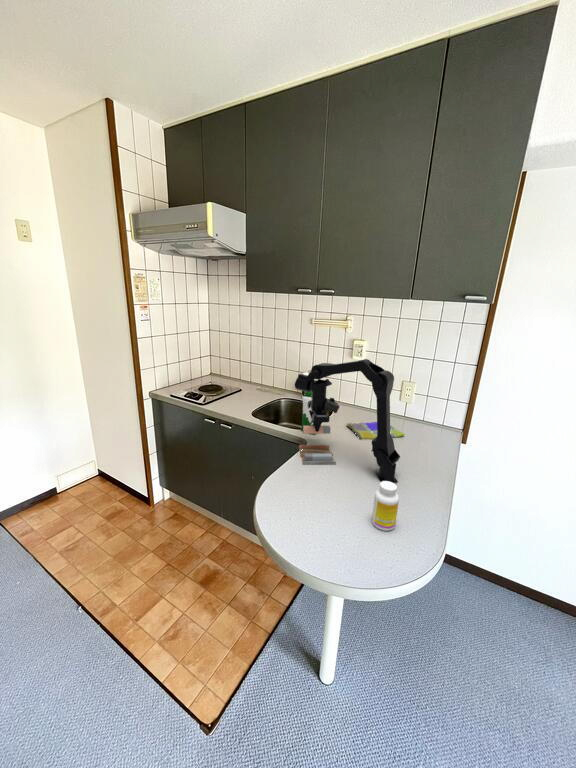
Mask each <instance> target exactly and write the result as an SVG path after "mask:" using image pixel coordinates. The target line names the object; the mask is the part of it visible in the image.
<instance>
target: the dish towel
mask: <svg viewBox="0 0 576 768" xmlns="http://www.w3.org/2000/svg"><path fill="white" fill-rule="evenodd" d="M345 425H347V427H348V428H349V429H350V430H351V429H352V430H353V431H354V432H355V433H356V435H357V436H358V437H359V439H358V440H361V439H371V440H373V439H374V438H376V437H377V421H373V422H358V423H356V422H354V423H351V422H348V423H345ZM369 429H370V430H369ZM391 429H392V430H391ZM352 430H351V431H352ZM353 431H352V432H353ZM371 431H373V433H371ZM390 431H391V437H392V439H395V438H396V437H397V438H400V437H402V438H403V437H404V436H405V433H404V432H401V431H399V430H397V429H395V427H394V426H392V425H391V424H390ZM354 432H353V433H354ZM356 435H355V436H356ZM357 436H356V437H357Z"/></svg>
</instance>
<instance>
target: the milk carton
mask: <svg viewBox="0 0 576 768" xmlns="http://www.w3.org/2000/svg"><path fill="white" fill-rule="evenodd" d="M304 393H305V394H304V395H303V396H302V397H301V398H302V418H301V419H302V420H301V431H303V426H314V425H313V422H312V419H311V416H310V413H309V411H310V410H311V407H310V408H308V402H309V401H312V399H311V395H312V390H311V391H310V392H305V391H304Z"/></svg>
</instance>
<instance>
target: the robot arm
mask: <svg viewBox="0 0 576 768" xmlns="http://www.w3.org/2000/svg"><path fill="white" fill-rule="evenodd" d="M355 372H356V373H357V372H360V373H362V374H363V376H364V377H365V378H366V379H367V381H369V382H370V383H371V386H372V387H371V388H372V391H373V392H374V395H375V397H376V422H377V437H376V438H374V439H371V447H372V448H371V452H373V453H372V454H373V456H374V458H375V460H376V463H377V466H378V472H377V471H375V472H374V474H375V475H376V477H377V478H378V480H379V481H380V483H381V482H382V481H389V482H392V483H394V484H395V483H398V482H399V480H398V479H397V478H396V477H395V475H396V470H397V469H396V468H397V462H399V460H400V459H401V456H400V454H399V453H398V451H397V450H396V449H395V443H394V438H392V437H391V434H390V425H391V397H390V396H391V393H392V391H393V387H394V381H395V375H394V374H393V373H392V372H391V371H389V370H385V369H384V368H383V367H381V366H379V365H377V364H375V363H373V362H372V361H371V360H370V359H368V358H365V359H361V360H355V361H348V362H342V363H331V362H328V363H327V362H322V363H319V364H316V365H312V367H311V369H310V372H309V373H308V375H307V374H303V373H299V374H298V375H297V378H296V379H295V382H294V388H295V389H296V391H302V392H304V393H305V392H310V391H312V395H311V399H312V401H309V402H308V408H310V407H311V410H310V411H309V413H310V416H311V419H312V422H313V425H314V427H315V430H316V432H318V431H319V429H320V426H322V424H323V423H329V422H330V416H329V414H328V412H327V411H330V412H332V413H333V414H337V413H338V411H339V409H340V405H339V403H338V402H336V400H335V398H334V397H329V398H328V397H327V387H330V386H332V385H333V383H332V382H331V381H330V379H329V378H327V377H329V376H332V375H339V374H347V373H355ZM325 378H327V379H325Z"/></svg>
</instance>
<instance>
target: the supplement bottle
mask: <svg viewBox="0 0 576 768" xmlns="http://www.w3.org/2000/svg"><path fill="white" fill-rule="evenodd" d="M378 487H379V488H378V489H376V491H375V493H374V498H373V499H374V500H373V507H372V515H371V523H372V524H373V525H374V527H376V528H377V529H378V530H381V531H385V532H388V531H392V530H394V529H395V527H396V522H397V515H398V509H399V501H400V497H399V495H398V493H397V490H398V486H397V485H396V484H395V483H392V482H389V481H382V482H380V483H379V486H378Z"/></svg>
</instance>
